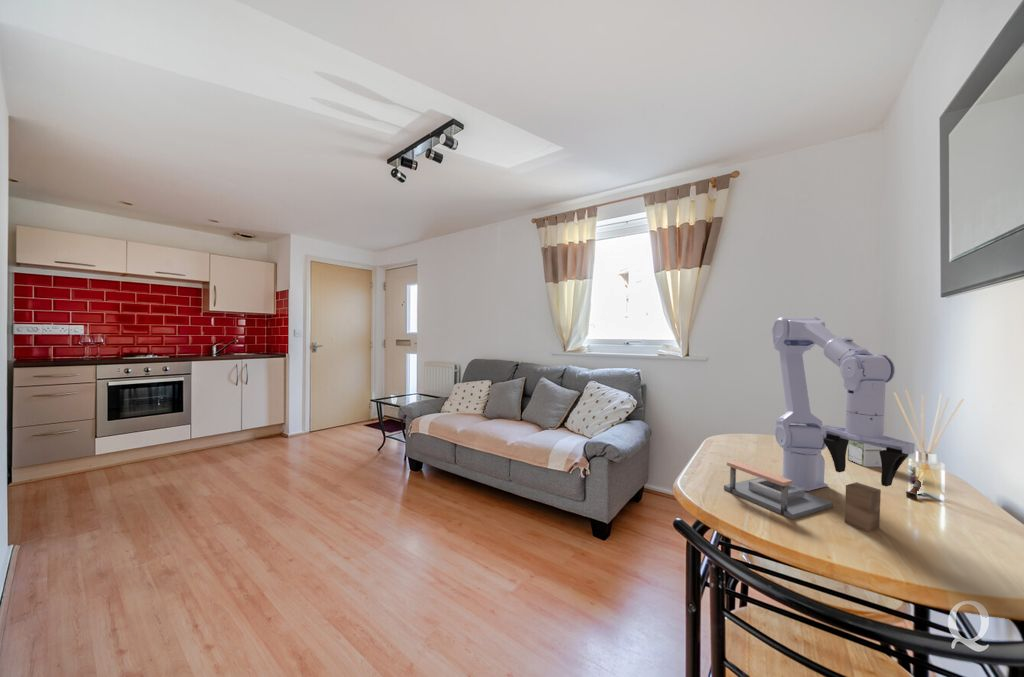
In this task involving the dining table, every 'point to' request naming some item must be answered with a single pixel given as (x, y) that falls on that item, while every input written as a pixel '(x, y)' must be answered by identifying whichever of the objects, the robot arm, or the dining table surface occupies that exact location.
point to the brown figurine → (914, 490)
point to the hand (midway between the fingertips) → (862, 477)
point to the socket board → (774, 492)
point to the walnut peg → (862, 506)
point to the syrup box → (864, 454)
